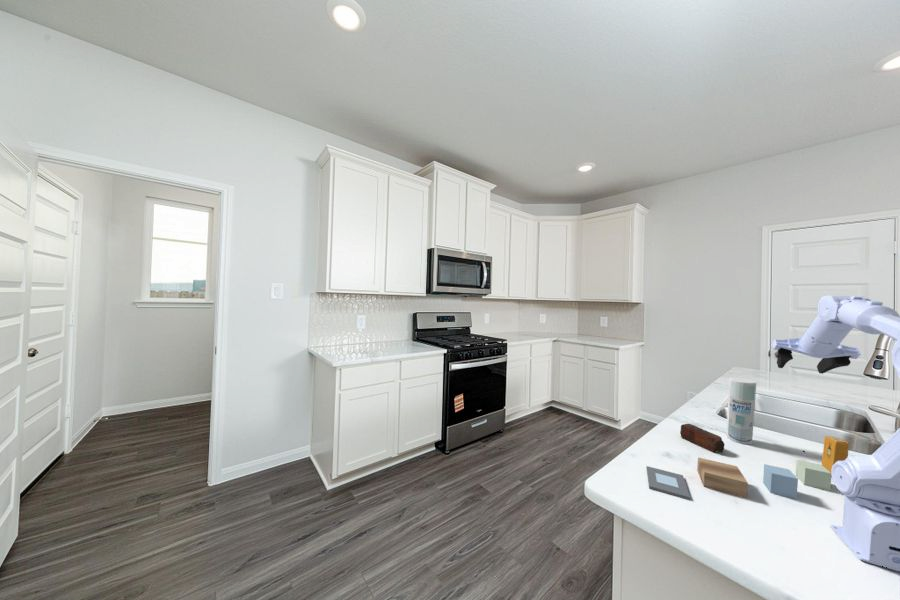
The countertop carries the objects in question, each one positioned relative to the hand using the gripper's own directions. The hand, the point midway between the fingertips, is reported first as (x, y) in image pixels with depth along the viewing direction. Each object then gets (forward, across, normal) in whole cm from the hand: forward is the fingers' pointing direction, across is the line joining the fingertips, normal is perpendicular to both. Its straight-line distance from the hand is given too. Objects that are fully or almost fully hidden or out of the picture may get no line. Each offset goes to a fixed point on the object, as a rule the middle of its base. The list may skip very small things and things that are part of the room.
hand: (799, 367), depth 83 cm
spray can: (+34, +5, +7) cm, 35 cm away
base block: (+11, +17, +32) cm, 38 cm away
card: (+6, +30, +37) cm, 48 cm away
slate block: (+13, +5, +29) cm, 32 cm away
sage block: (+19, -4, +22) cm, 29 cm away
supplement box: (+24, -11, +16) cm, 31 cm away
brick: (+27, +17, +15) cm, 35 cm away
